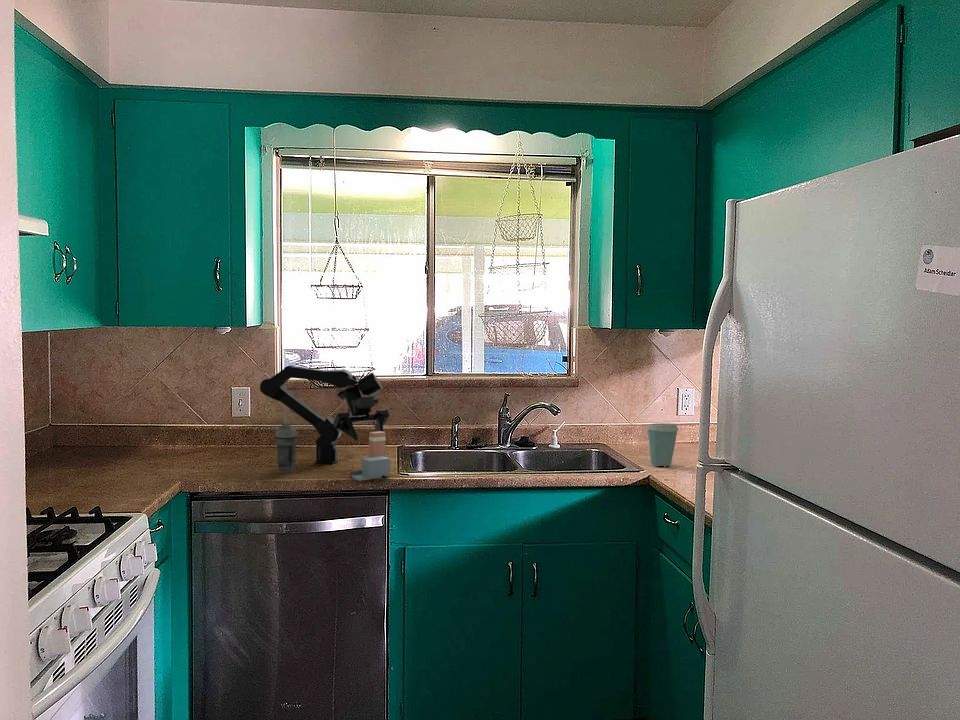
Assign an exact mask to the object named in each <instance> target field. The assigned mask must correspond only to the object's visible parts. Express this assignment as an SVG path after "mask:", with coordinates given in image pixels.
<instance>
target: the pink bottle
mask: <svg viewBox="0 0 960 720" xmlns="http://www.w3.org/2000/svg"><path fill="white" fill-rule="evenodd" d="M368 433H369V434H368V442H369V443H368V458H369V457H377V456H385V457H386V440H387V437H386V434H387V433H386V432H385V431H383V432H382V431H378V432H377V431H369V432H368Z"/></svg>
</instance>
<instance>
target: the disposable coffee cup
mask: <svg viewBox="0 0 960 720" xmlns="http://www.w3.org/2000/svg"><path fill="white" fill-rule="evenodd" d="M646 429H647V438H648V439H647V440H648V449H649V456H650V457H649V458H650V464H651V465H654V466H653V467H656V466H670V467H671V465H672V463H673V456H674V452H675V445H676V440H677V436H678V435H677V434H678V432H679V427H678V424H677V423H669V422H667V423H665V422H663V423H658V422H657V423H650V424H648V425H647V427H646Z"/></svg>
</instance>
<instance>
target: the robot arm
mask: <svg viewBox="0 0 960 720" xmlns="http://www.w3.org/2000/svg"><path fill="white" fill-rule="evenodd" d="M292 378H295V379H299V380H300V379H301V380H308V381H317V382H323V383H325V384H329V385H331V386H334V387H337V388H340V390H339V392H338V393H337V397H338V398H339V399H340V400H341V401H342V400H345V402H346V405H347V410H346V411H345V412H337V413H336V416H335V418H333V417H332V416H331V415H329V416H327V417H324V416H322V415H320V414H319V413H317V412H316V411H315V410H314V409H312V408H311V407H310V406H308V405H307V404H305V403H304V402H303V401H301V399H299V398H297V397H296V396H295V395H293V394H292V393H291V392H290V391H289V390H288V389H287V387H286V386H285V383H287V382H288V381H289V380H290V379H292ZM383 387H384V386H383V385H382V383H381V381H380V380H379V378H378V377H377V376H376V375H375V374H374V371H373V372H370V373H369V374H368V375H366V376H364V377H362V378H360V377H357V376H354V375H353V374H352V373H351V371H350V370H348V369H335V370H334V369H333V370H332V369H331V370H323V369H315V368H310V367H309V368H308V367H301V366H296V365H293V364H291V365H286V366H285V367H284V368H283V369H282V370H280V371H279V372H277V373H276V374H275V375H273V376H272V377H268V378H265V379H263V380H262V381H261V382H260V384H259V391H260V393H261V394H263V395H265V396H266V397H268V398H270V399H272V400H276V401H278V402H280V403H282V404H283V405H285V406H286V407H288V408H289V409H290V410H291V411H292V412H294V413H295V414H297V415H298V416H299V417H301V418H302V419H303V420H305V421H306V422H308V423H309V424H310V425H311V426H313V427H314V429H315V431H316V432H317V433H318V435H320V436H318V438H317V439H315V444H316V445H315V447H316V449H315V450H316V451H315V455H316V456H315V461H314V464H323V465H324V464H327V465H332V464H334V463H336V462H338V461H339V449H338V448H337V443H336V441H337V440H338V438H340V437H341V435H342V433H343V432H344V433H345V434H346V435H348V436H350V438H352V439H353V440H354V441H356V442H357V441H358V440H359V438H358V434H357V432H356V430H355V427H354V425H353V423H355V422H357V423H363V422H372V424H373V425H374V429H375V432H378V431H382V432H384V425H386V423H387V421H388V419H390V418H389V417H390V416H391V414H390V412H389V410H388V409H385V408H384V409H376V411H375V413H374V414H370V413H371V412H372V408H373V407H375V406H377V405H378V404H379V399H378V396H377V395H376V393H378V392H379V391H382V390H383ZM342 388H343V389H342ZM344 388H345V389H344Z"/></svg>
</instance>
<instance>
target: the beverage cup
mask: <svg viewBox="0 0 960 720" xmlns="http://www.w3.org/2000/svg"><path fill="white" fill-rule="evenodd" d="M274 438H275V444H276V453H277V462H278V463H277V464H278V472H280V474H293V473H294V470H295V463H296V462H295V461H296V460H295V459H296V450H297V442H298V438H299V437H298V432H297V429H296V428H295V427H294V426H293V425H291V424H287V410H284V424H281V425H280V426H279V427H278V428H277V429H276V431H275V435H274ZM292 472H293V473H292Z"/></svg>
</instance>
